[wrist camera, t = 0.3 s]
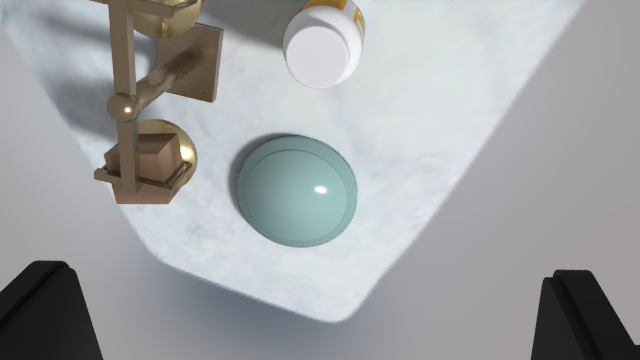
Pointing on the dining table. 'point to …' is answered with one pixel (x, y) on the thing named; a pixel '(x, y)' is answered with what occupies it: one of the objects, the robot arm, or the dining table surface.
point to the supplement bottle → (324, 42)
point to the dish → (297, 191)
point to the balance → (158, 79)
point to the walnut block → (151, 167)
